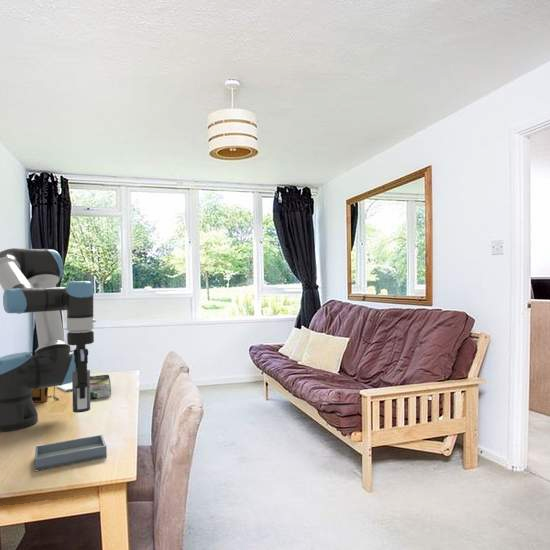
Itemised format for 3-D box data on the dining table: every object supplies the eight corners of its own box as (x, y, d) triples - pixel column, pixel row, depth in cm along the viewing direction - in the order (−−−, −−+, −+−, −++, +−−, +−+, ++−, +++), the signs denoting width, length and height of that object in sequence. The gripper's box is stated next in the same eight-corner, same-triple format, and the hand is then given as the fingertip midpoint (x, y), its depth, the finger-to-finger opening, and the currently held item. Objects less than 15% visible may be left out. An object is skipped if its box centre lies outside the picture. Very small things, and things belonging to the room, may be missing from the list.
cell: (72, 409, 136) (71, 367, 136) (89, 406, 139) (89, 365, 138) (73, 413, 132) (72, 370, 132) (91, 410, 134) (90, 368, 134)
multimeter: (67, 396, 182) (66, 348, 183) (52, 403, 173) (51, 352, 173) (34, 396, 184) (33, 348, 184) (17, 402, 174) (16, 352, 174)
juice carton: (111, 397, 179) (111, 382, 179) (85, 401, 176) (85, 385, 176) (110, 387, 198) (109, 373, 198) (86, 390, 194) (86, 376, 194)
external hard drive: (66, 393, 189) (56, 388, 198) (85, 389, 195) (75, 385, 204) (65, 389, 189) (56, 385, 198) (85, 386, 195) (75, 381, 204)
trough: (35, 457, 119) (35, 446, 119) (102, 444, 127) (102, 434, 127) (35, 471, 110) (34, 459, 110) (106, 457, 118) (106, 445, 118)
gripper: (96, 333, 129) (97, 412, 129) (90, 327, 145) (91, 397, 145) (68, 335, 125) (69, 416, 125) (65, 328, 141) (66, 400, 141)
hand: (81, 405), depth 135 cm, fingers closed on cell, 5 cm apart
